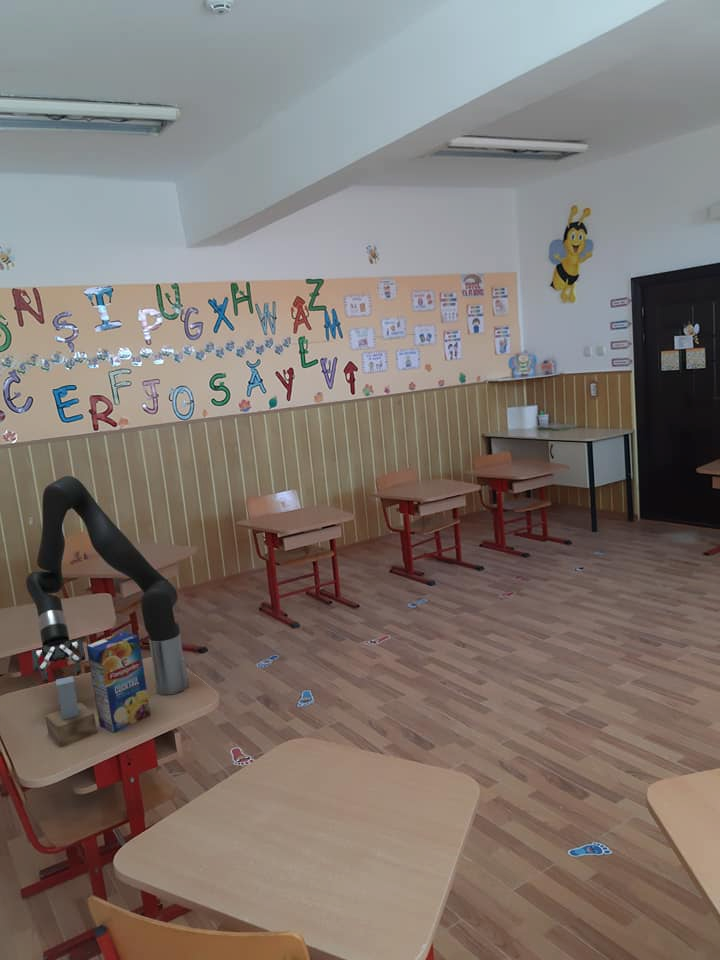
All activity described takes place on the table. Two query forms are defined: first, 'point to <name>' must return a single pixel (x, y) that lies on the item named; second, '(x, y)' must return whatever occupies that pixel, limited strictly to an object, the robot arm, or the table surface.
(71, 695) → the slate column
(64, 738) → the walnut block
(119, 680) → the juice carton
